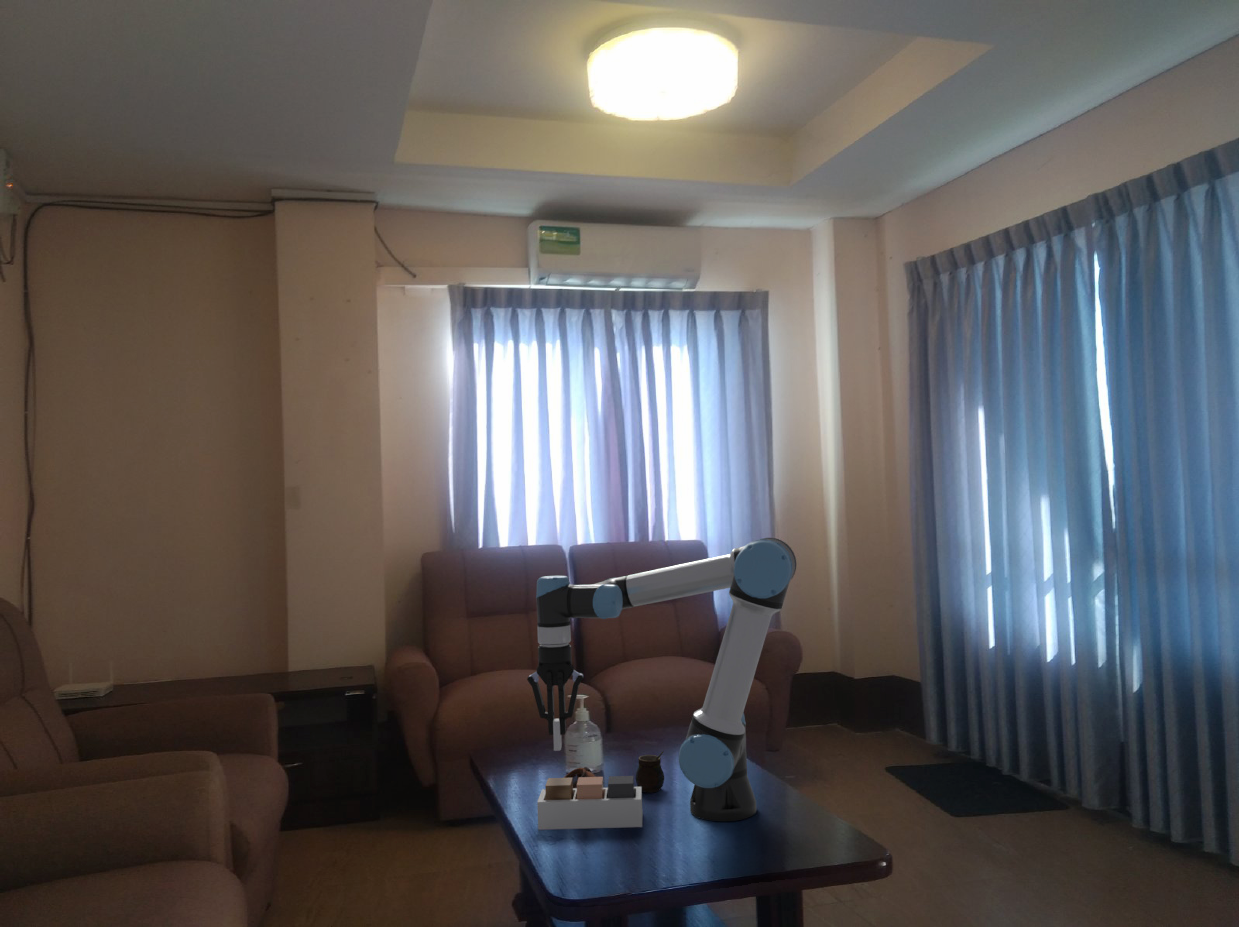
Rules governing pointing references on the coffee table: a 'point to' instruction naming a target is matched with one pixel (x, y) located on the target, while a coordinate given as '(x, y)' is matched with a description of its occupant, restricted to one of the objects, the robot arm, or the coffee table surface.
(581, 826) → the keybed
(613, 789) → the black rubber key
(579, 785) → the terracotta key
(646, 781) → the mate gourd
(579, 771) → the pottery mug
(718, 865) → the coffee table surface
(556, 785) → the walnut key
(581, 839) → the coffee table surface
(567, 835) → the coffee table surface
